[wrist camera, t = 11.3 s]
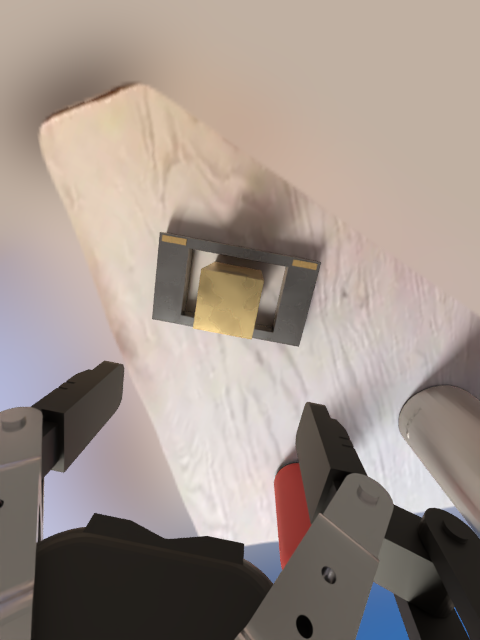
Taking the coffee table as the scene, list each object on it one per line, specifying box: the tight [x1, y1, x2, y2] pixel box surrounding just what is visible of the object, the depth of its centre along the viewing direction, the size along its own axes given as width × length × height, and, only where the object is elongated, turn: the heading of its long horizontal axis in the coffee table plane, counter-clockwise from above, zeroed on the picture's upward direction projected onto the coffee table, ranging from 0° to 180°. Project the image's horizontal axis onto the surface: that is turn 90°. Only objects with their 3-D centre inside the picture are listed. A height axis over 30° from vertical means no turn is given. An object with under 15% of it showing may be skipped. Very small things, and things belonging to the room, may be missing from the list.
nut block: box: [193, 262, 264, 339], centre depth 25 cm, size 5×5×8 cm
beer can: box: [274, 463, 312, 570], centre depth 30 cm, size 7×7×12 cm
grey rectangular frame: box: [152, 232, 321, 347], centre depth 28 cm, size 16×9×2 cm, turn 80°
